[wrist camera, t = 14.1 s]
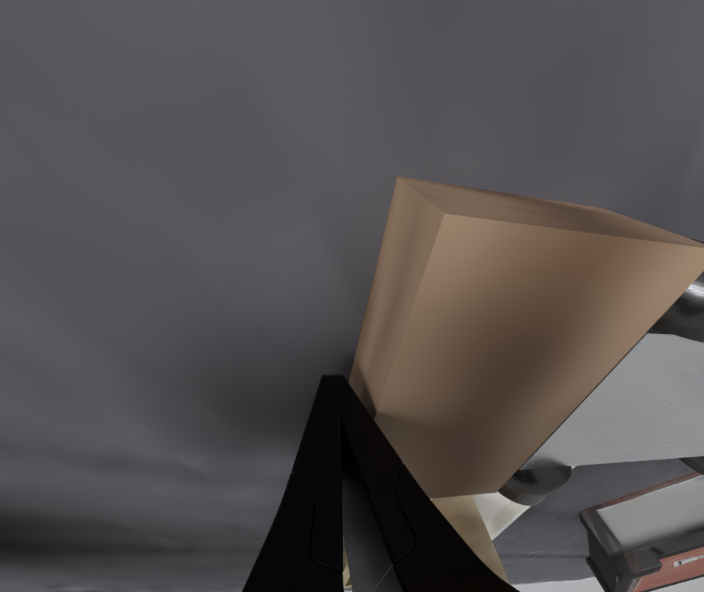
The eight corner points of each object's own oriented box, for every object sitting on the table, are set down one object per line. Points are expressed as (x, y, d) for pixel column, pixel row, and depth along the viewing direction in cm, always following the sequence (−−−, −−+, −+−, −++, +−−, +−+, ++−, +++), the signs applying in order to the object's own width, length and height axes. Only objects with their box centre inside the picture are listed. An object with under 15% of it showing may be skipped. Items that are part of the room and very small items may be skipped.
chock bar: (336, 425, 14) (344, 506, 12) (394, 174, 8) (444, 213, 5) (461, 421, 16) (495, 492, 13) (595, 205, 9) (722, 250, 7)
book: (713, 517, 39) (761, 566, 35) (583, 557, 42) (614, 607, 38) (779, 436, 24) (875, 503, 20) (575, 505, 27) (622, 576, 23)
